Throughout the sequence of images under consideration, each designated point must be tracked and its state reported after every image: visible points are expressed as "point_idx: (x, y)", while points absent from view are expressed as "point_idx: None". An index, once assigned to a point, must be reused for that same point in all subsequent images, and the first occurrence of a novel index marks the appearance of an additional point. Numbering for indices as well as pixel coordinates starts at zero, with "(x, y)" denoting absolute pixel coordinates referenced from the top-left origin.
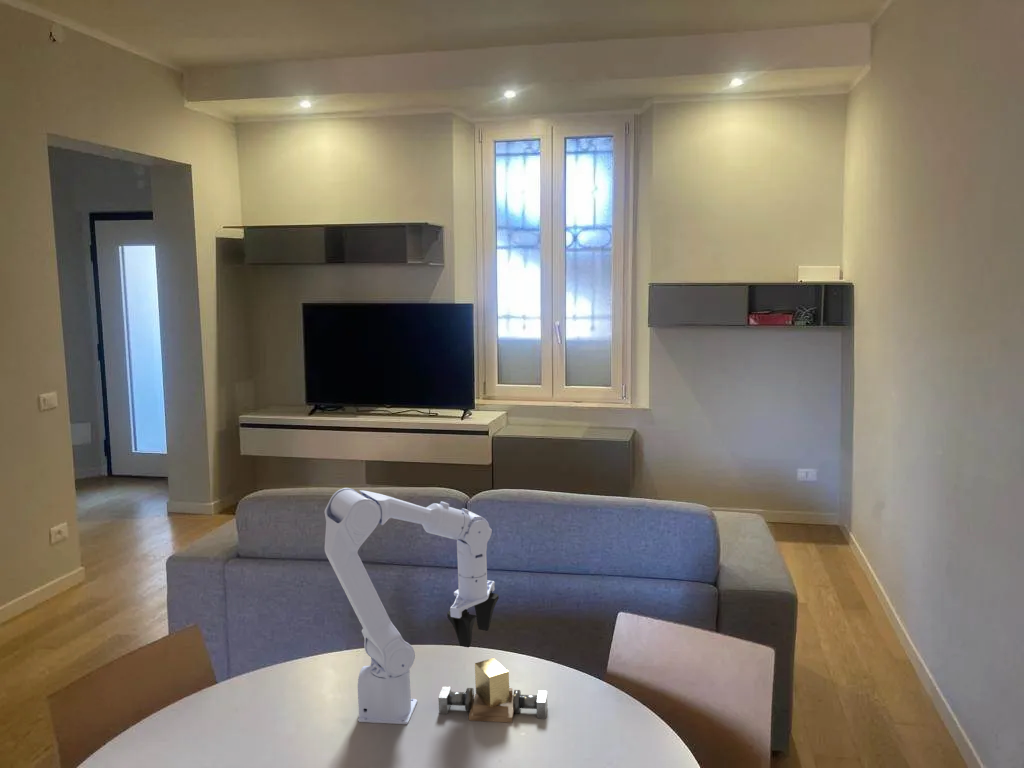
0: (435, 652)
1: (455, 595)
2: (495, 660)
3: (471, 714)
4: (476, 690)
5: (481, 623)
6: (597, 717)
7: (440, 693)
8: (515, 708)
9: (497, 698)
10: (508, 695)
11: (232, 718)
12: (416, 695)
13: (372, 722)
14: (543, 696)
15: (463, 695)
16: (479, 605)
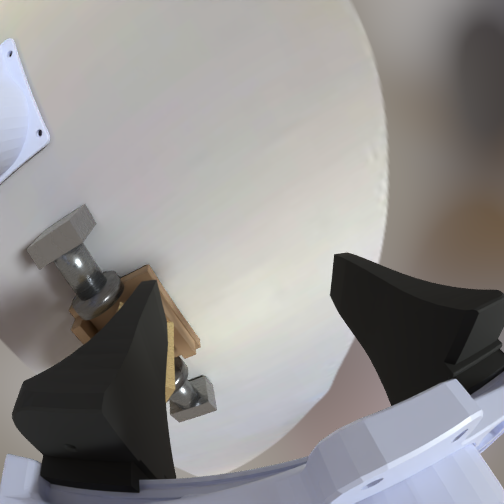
0: (319, 14)
1: (309, 465)
2: (166, 398)
3: (75, 313)
4: (117, 310)
5: (349, 285)
6: (230, 428)
7: (42, 239)
8: None
9: None
10: None
11: None
12: (76, 110)
13: None
14: (194, 414)
15: (78, 295)
16: (409, 338)
